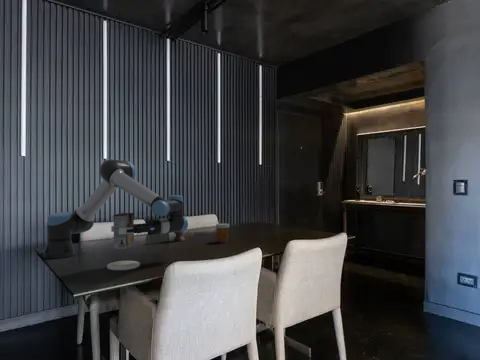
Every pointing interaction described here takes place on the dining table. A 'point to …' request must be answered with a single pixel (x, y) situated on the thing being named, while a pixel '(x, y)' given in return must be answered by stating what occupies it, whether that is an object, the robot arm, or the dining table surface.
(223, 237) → the disposable coffee cup
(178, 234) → the mortar and pestle
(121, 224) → the coffee box
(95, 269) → the dining table surface
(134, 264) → the plate
